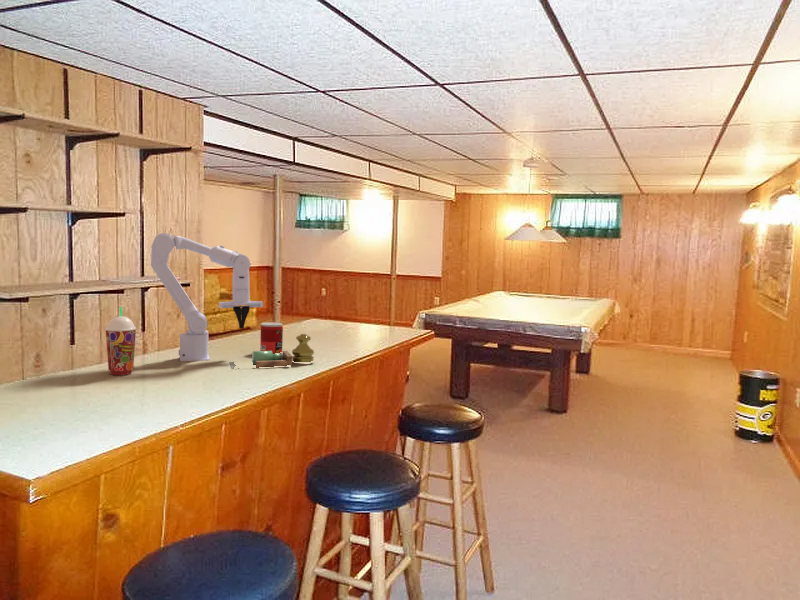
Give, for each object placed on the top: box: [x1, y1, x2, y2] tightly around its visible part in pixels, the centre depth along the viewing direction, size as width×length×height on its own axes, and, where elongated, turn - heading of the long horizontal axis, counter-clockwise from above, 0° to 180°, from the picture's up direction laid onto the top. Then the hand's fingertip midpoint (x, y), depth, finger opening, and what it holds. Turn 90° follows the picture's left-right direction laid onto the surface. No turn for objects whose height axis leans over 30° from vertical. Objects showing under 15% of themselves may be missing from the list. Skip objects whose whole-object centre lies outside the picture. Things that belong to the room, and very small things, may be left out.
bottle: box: [251, 350, 283, 365], centre depth 200 cm, size 4×4×10 cm
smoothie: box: [104, 306, 137, 376], centre depth 179 cm, size 8×8×20 cm
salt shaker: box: [291, 333, 315, 362], centre depth 205 cm, size 7×7×10 cm
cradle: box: [228, 350, 293, 370], centre depth 199 cm, size 19×12×4 cm, turn 110°
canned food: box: [259, 321, 284, 354], centre depth 220 cm, size 8×8×11 cm
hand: (241, 328), depth 209 cm, fingers closed
